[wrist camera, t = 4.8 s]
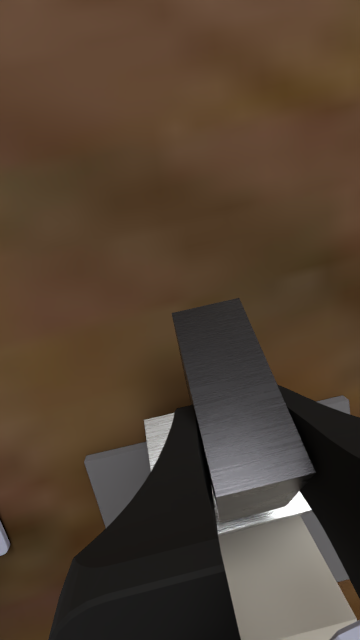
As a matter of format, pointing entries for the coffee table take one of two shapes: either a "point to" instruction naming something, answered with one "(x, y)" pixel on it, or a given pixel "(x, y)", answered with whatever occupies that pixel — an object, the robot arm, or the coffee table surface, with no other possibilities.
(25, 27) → the coffee table surface
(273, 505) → the mounted block
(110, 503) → the mat
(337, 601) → the cream rectangular block
